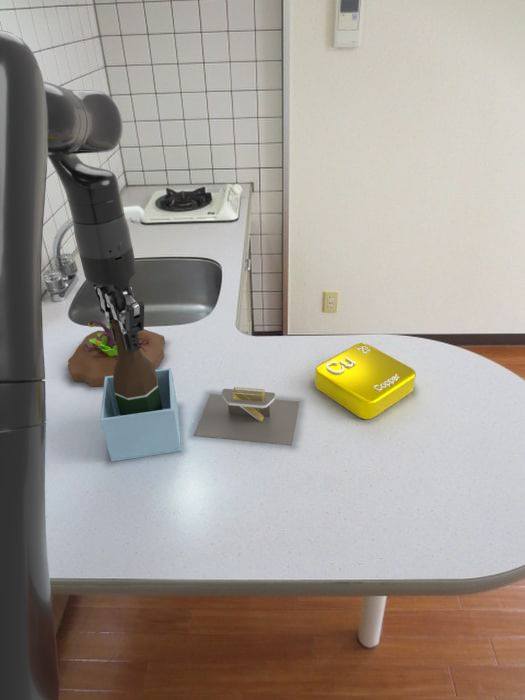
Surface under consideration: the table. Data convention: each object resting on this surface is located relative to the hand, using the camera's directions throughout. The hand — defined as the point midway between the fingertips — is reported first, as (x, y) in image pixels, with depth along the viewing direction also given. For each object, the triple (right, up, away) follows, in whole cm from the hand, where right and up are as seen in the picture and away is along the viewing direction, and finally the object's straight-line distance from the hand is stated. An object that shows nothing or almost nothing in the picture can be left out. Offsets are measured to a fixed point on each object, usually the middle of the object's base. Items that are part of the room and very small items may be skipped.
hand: (126, 344), depth 85 cm
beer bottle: (+1, -16, +11) cm, 19 cm away
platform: (+19, -14, +14) cm, 28 cm away
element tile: (+42, -9, +20) cm, 48 cm away
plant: (-10, -3, +31) cm, 33 cm away
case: (+1, -16, +11) cm, 20 cm away
